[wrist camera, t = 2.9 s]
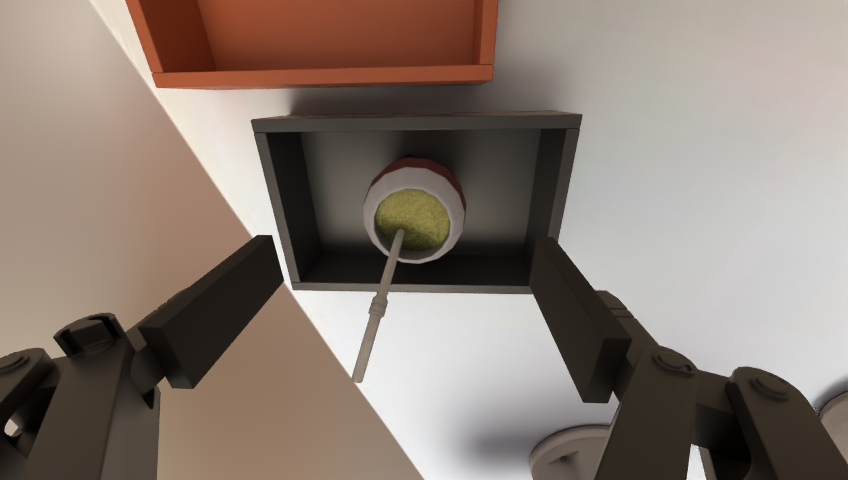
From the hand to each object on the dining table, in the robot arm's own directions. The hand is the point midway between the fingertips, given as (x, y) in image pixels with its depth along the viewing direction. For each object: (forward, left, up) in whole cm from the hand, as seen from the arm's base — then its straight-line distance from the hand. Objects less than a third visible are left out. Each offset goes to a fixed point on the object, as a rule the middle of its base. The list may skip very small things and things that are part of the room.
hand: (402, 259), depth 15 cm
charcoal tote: (0, 0, -12) cm, 12 cm away
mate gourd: (0, 0, -12) cm, 12 cm away
